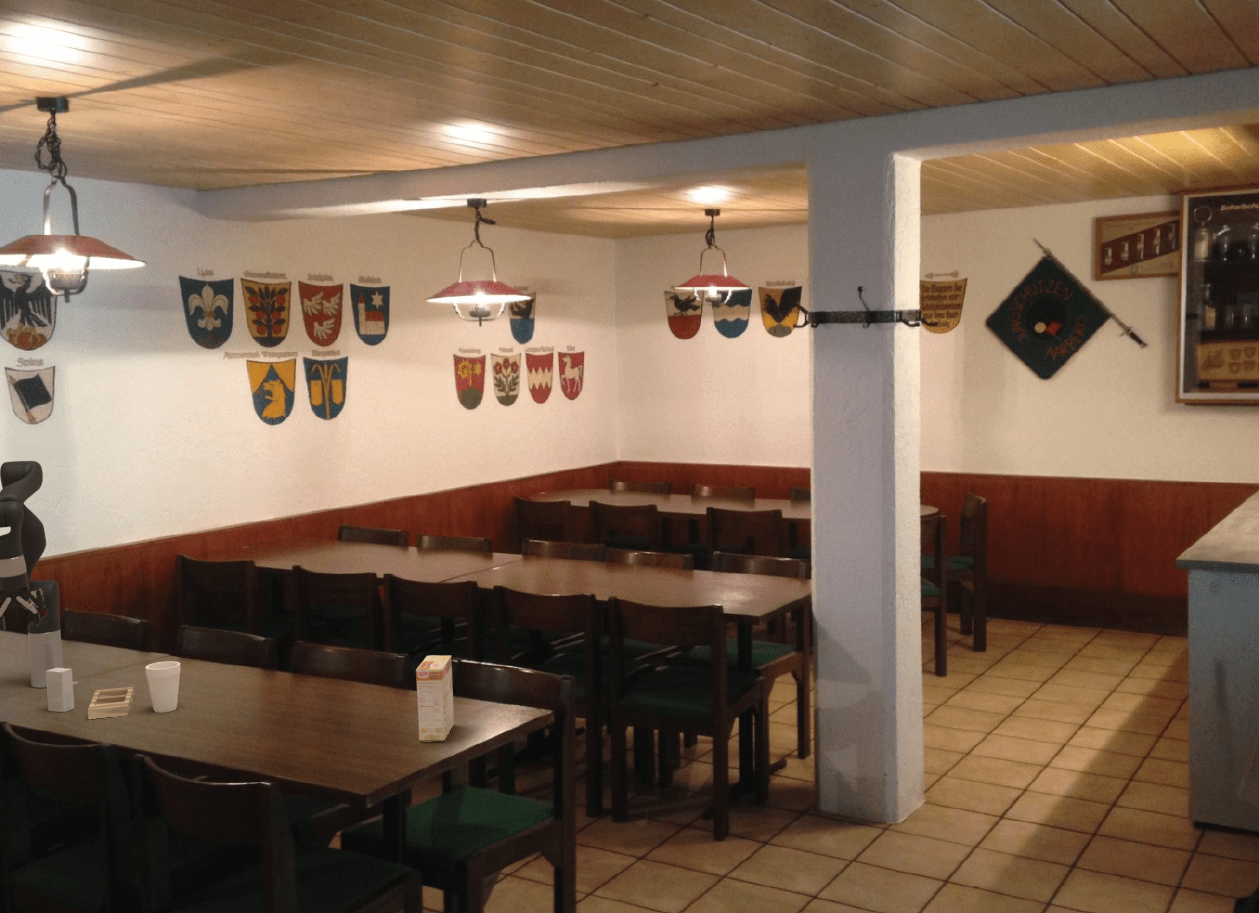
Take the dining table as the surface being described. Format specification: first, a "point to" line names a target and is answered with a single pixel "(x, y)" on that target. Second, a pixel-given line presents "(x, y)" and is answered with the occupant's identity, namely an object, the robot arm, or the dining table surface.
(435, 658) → the coffeecake box
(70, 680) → the skincare box
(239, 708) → the dining table surface
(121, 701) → the wooden crate
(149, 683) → the foam cup
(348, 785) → the dining table surface
